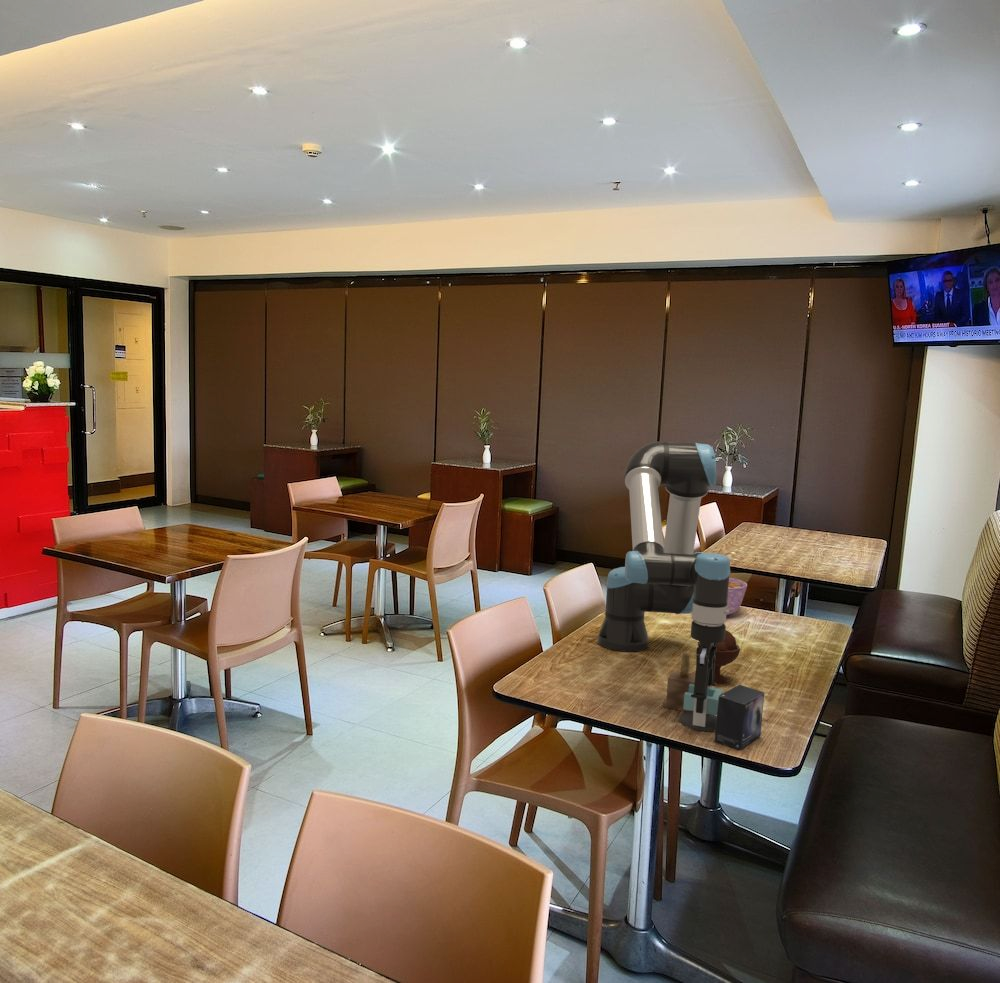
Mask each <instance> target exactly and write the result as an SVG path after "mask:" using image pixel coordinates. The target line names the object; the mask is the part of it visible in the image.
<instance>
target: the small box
mask: <svg viewBox="0 0 1000 983" xmlns="http://www.w3.org/2000/svg"><path fill="white" fill-rule="evenodd" d="M764 698H765V692H764V691H761V690H758V689H755V688H751V687H748V686H745V685H742V684H738V685H736V686H735V687H733V688H730V689H728V690H727V691H725V692H723V694H721V695H719V699H718V709H717V715H716V716H717V721H716V731H714V732H715V733H714V740H713V741H714V742H716V743H719V744H721V745H725V746H727V747H731V748H733V749H736V750H742V749H744V748H746V747H747V746H748V745H749V744H751V743H753V742H754V741H756V740H758V739H759V738H761V735H762V722H763V712H764V710H763V709H764V702H765V699H764Z"/></svg>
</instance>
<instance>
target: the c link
mask: <svg viewBox="0 0 1000 983" xmlns="http://www.w3.org/2000/svg"><path fill="white" fill-rule="evenodd" d="M723 693H724V689H722V688H716V687H713V688H711V687H707V695H706V696H707V709H706V713H707V714H713V715H716V716H717V709H718V699H719V695H721V694H723ZM691 694H692V695H693V694H694V684H690V685H689V693H688V692H685V694H684V707H683V709H686V710H691V711H694V698H693V697H691Z"/></svg>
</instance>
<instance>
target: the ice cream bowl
mask: <svg viewBox="0 0 1000 983" xmlns="http://www.w3.org/2000/svg"><path fill="white" fill-rule="evenodd" d="M699 644H700V642H699V641H697V647H699ZM716 647H717V651H716V655H715V670H714V677H715V678H714V680H713V681H714V682H716V685H717V684H718V685H719V684H720V685H721V684H725V683H728V682H727V678H726V677H725V676H724V675H722V674H721V668H722V667H724V666H727V665H729V664H731V663H733V662H734V661H735V660H736V659H737V658H738V656H739V655H740V652H741V648H740V646H739V644H737V640H736V638H735V636H734V635H733V633H732V632H730V631H729V630H727V629H725V639H724V641H722V642H720V643H717V644H716Z"/></svg>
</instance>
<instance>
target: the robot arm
mask: <svg viewBox="0 0 1000 983" xmlns="http://www.w3.org/2000/svg"><path fill="white" fill-rule="evenodd" d="M624 484H625V487H626V488H627V489H628V492H629V508H630V525H631V526H630V527H631V543H632V551H631V550H629V551H628V552H626V554H625V560H624V562H625V563H624V566H620V567H617V568H613V569H612V570H610V571H609V573H608V574H607V579H606V580H607V581H606V585H605V587H606V597H605V612H604V613H605V614H604V619H603V622H602V625H601V626H600V629H599V632H598V635H597V643H598V645H600V646H602V647H603V648H606V649H609V650H612V651H619V652H640V651H644V650H647V649H648V648H649V642H650V640H649V634H648V631H647V628H646V623H645V613H660V614H661V613H664V614H675V615H682V614H684V615H686V614H687V615H688V614H691V619H692V621H691V624H690V625H691V627H690V628H691V629H690V637H691V638H692V639H693V640H695V641H697V642H700V644H699V647H698V646H697V647H696V653H695V654H696V656H695V657H696V662H695V673H694V674H695V684H694V694H693V695H692V694H691V697H693V698H694V711H693V725H696V726H701V727H705V723H706V714H707V713H706V709H707V696H706V695H707V687H711V688H714V687H716V686H717V683H716V682H714V681H713V680H714V678H715V677H714V670H715V655H716V651H717V647H716V644H717V643H720V642H722V641H724V639H725V630H727V629H726V628H727V627H726V624H725V623H726V622H727V616H726V614H727V615H730V614H729V610H726V608H727V600H728V588H729V577H730V575H731V573H732V572H731V560H730V558H729V556H727V555H724V554H722V553H715V552H702V551H697V552H694V550H695V543H696V538H697V536H696V535H697V528H698V523H699V517H700V516H699V515H700V507H701V502H702V498H703V497H706V495H708V492H709V487H710V488H713V487H715V485H716V484H717V461H716V454H715V451H714V448H713V447H712V446H711V445H710V444H707V443H698V442H669V441H651V442H648V443H647V444H645V445H643V446H642V447H640V448H638V449H637V450H636V451H635V452H634V453H633V454H632V456H631V457H630V459H629V460H628V462H627V464H626V467H625V470H624ZM661 485H665V487H664V488H665V490H666V492H667V493H669V500H668V509H667V514H666V515H667V517H666V524H665V532H664V534H663V527H662V525H663V524H662V515H661V514H662V513H661V506H660V505H661V504H660V494H659V487H660V486H661ZM663 535H664V536H663Z"/></svg>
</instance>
